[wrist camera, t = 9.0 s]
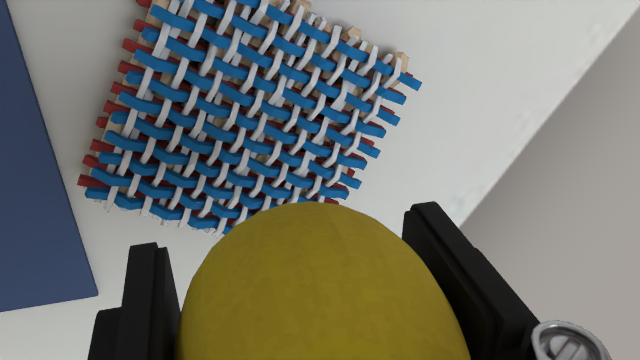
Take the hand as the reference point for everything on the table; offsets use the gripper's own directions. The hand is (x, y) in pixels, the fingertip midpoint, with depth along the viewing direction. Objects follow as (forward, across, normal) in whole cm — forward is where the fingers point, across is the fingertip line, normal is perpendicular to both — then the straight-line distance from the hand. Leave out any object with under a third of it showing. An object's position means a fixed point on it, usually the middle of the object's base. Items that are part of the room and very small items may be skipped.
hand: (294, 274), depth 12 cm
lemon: (+2, 0, 0) cm, 2 cm away
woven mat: (+10, 0, 0) cm, 10 cm away
